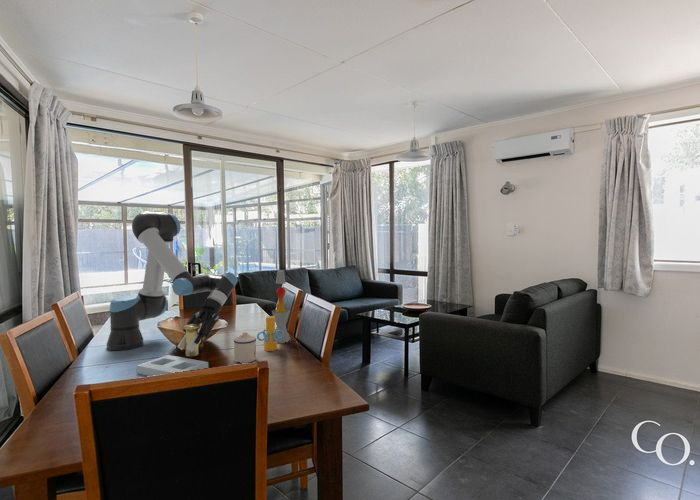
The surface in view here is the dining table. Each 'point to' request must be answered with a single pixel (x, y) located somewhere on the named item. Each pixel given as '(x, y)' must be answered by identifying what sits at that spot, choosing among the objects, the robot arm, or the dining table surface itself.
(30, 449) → the dining table surface
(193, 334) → the brass sleeve
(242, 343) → the teacup with lid
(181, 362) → the jig plate
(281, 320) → the lava lamp
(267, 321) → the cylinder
